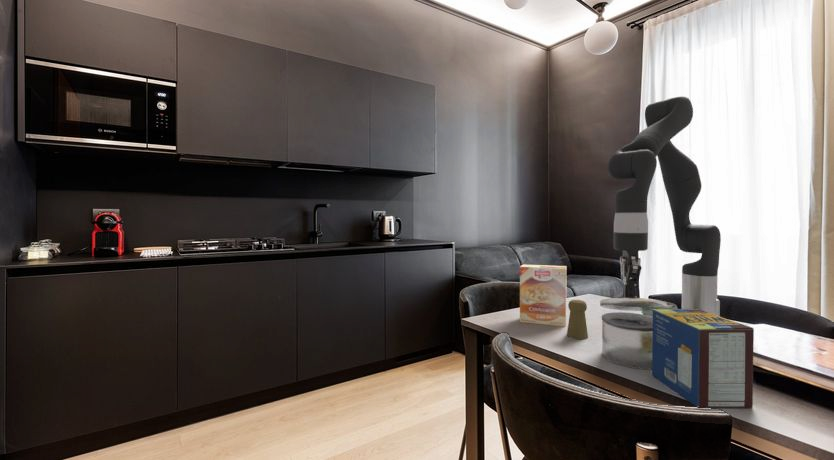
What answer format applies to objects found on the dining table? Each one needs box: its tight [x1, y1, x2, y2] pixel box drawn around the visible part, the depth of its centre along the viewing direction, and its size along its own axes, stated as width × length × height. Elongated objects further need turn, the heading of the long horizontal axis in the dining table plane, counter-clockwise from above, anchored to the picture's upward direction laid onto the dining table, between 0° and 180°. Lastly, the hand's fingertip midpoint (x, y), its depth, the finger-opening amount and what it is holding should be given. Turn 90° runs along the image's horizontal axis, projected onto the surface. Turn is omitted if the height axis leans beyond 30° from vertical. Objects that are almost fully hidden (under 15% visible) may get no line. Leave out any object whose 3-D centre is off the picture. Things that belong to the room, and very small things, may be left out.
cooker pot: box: [601, 311, 653, 370], centre depth 98 cm, size 14×14×10 cm
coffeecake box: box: [519, 263, 568, 328], centre depth 131 cm, size 15×7×20 cm, turn 67°
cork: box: [566, 299, 589, 340], centre depth 116 cm, size 6×6×11 cm
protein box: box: [651, 308, 755, 409], centre depth 80 cm, size 10×15×16 cm
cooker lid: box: [599, 295, 667, 312], centre depth 98 cm, size 15×15×3 cm
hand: (629, 299), depth 96 cm, fingers closed
